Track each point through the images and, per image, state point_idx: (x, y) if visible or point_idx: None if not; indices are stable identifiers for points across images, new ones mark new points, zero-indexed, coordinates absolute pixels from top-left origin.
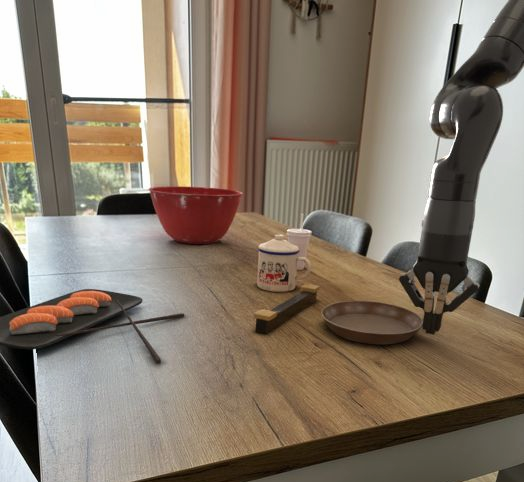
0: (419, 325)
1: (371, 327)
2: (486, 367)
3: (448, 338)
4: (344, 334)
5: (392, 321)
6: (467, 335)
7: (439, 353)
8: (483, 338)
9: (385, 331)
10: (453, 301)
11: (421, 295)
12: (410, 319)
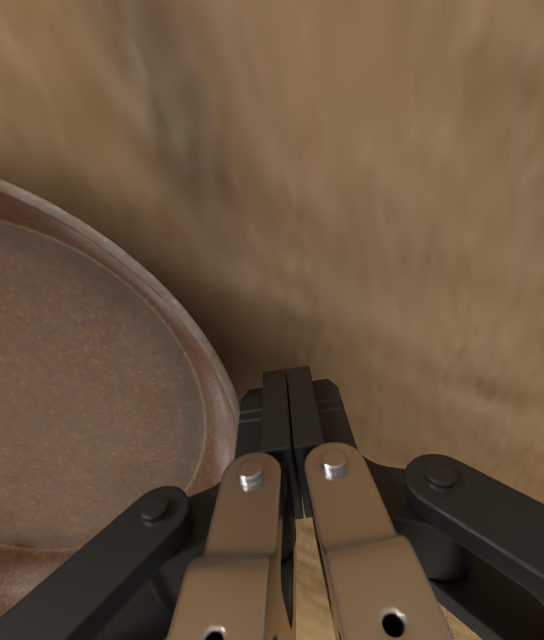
0: (212, 369)
1: (9, 408)
2: (530, 446)
3: (348, 232)
4: (22, 577)
5: (13, 254)
6: (437, 86)
7: (356, 437)
8: (533, 69)
9: (89, 415)
10: (483, 637)
11: (149, 558)
12: (103, 250)
